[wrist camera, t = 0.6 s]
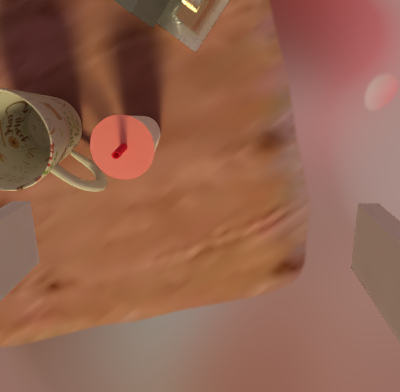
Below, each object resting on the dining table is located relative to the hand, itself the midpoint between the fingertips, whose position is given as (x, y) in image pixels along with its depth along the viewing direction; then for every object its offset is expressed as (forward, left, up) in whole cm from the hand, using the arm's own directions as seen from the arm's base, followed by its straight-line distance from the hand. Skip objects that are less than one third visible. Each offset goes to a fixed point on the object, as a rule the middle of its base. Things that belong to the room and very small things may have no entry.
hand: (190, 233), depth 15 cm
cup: (-6, -4, -25) cm, 26 cm away
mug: (-12, -9, -25) cm, 29 cm away
